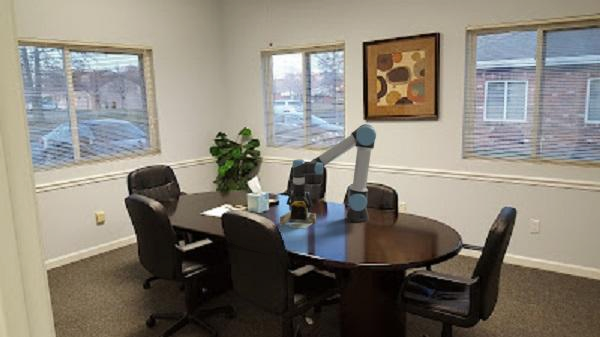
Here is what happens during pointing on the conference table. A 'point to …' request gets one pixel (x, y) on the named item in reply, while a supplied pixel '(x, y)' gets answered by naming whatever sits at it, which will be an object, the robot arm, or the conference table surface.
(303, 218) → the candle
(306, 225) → the pad
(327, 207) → the conference table surface
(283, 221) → the arena
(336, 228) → the conference table surface
